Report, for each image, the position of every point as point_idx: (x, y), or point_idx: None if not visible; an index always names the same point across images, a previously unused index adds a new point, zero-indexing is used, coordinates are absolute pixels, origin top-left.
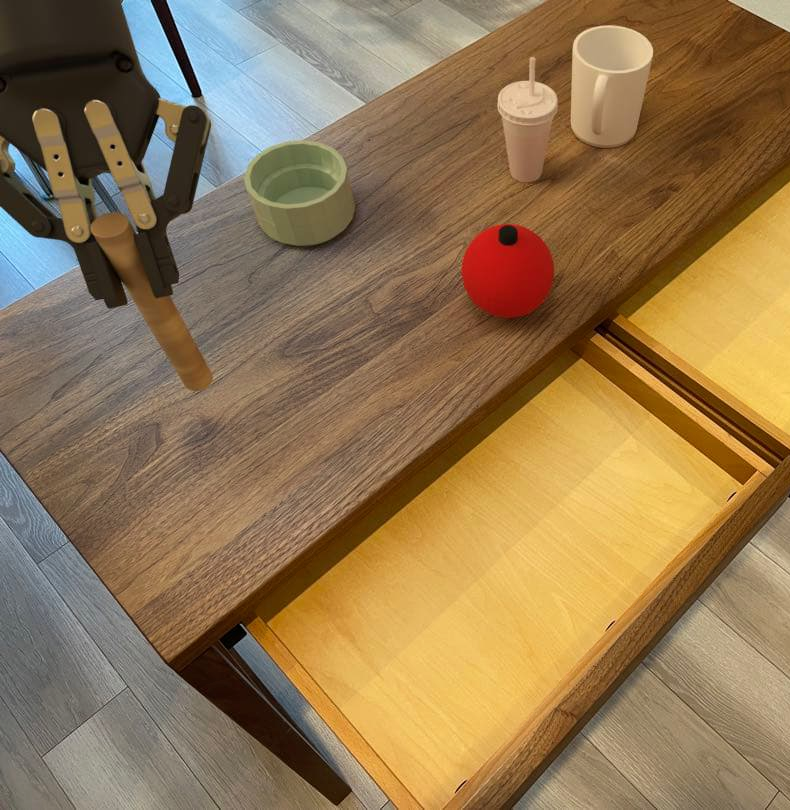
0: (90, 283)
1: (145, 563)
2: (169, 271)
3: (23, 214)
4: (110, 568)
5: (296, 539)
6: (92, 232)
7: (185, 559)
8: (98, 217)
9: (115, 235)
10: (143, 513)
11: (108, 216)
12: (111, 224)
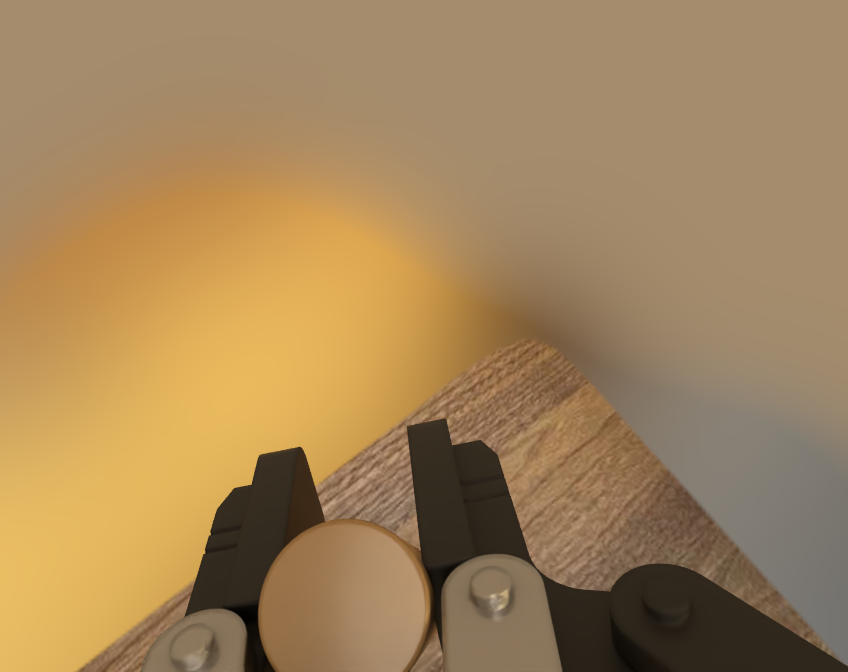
0: (488, 474)
1: (590, 452)
2: (227, 513)
3: (747, 651)
4: (639, 450)
5: (373, 462)
6: (413, 558)
7: (532, 451)
8: (398, 665)
9: (311, 529)
10: (610, 538)
11: (352, 669)
12: (333, 607)
